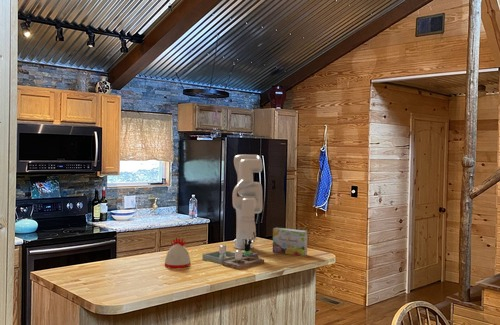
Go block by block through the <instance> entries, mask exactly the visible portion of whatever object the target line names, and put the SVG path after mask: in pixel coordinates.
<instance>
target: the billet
mask: <svg viewBox="0 0 500 325" xmlns="http://www.w3.org/2000/svg"><path fill="white" fill-rule="evenodd" d="M218 246H219V248H218V251H219V258H221V259H223V258H227V257H226V251H227V245H226V244H219V245H218Z"/></svg>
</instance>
